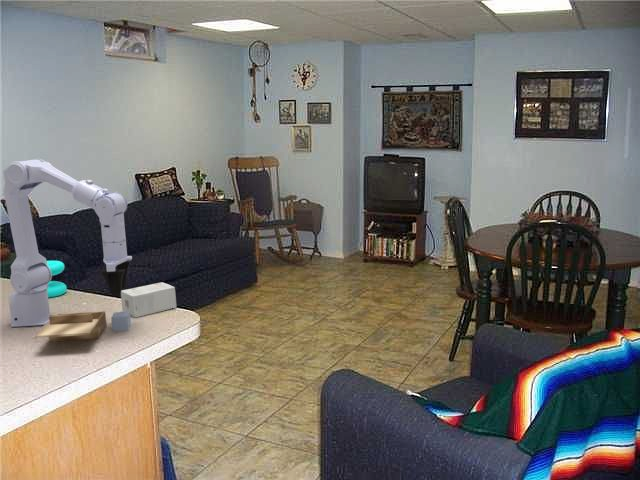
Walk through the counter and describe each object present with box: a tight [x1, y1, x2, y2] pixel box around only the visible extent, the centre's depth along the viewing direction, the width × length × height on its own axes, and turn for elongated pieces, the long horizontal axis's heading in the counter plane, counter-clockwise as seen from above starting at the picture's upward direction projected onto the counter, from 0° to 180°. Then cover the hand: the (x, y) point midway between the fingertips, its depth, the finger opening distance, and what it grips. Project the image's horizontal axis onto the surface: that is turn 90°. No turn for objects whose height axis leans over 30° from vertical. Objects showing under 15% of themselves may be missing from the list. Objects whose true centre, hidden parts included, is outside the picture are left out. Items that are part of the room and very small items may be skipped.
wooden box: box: [48, 311, 107, 342], centre depth 173 cm, size 12×10×4 cm
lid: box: [34, 312, 99, 339], centre depth 163 cm, size 12×10×2 cm
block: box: [111, 311, 132, 332], centre depth 176 cm, size 4×4×4 cm
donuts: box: [46, 260, 67, 299], centre depth 209 cm, size 10×10×10 cm
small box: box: [120, 281, 177, 318], centre depth 191 cm, size 8×6×13 cm
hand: (118, 292), depth 174 cm, fingers open, 6 cm apart
